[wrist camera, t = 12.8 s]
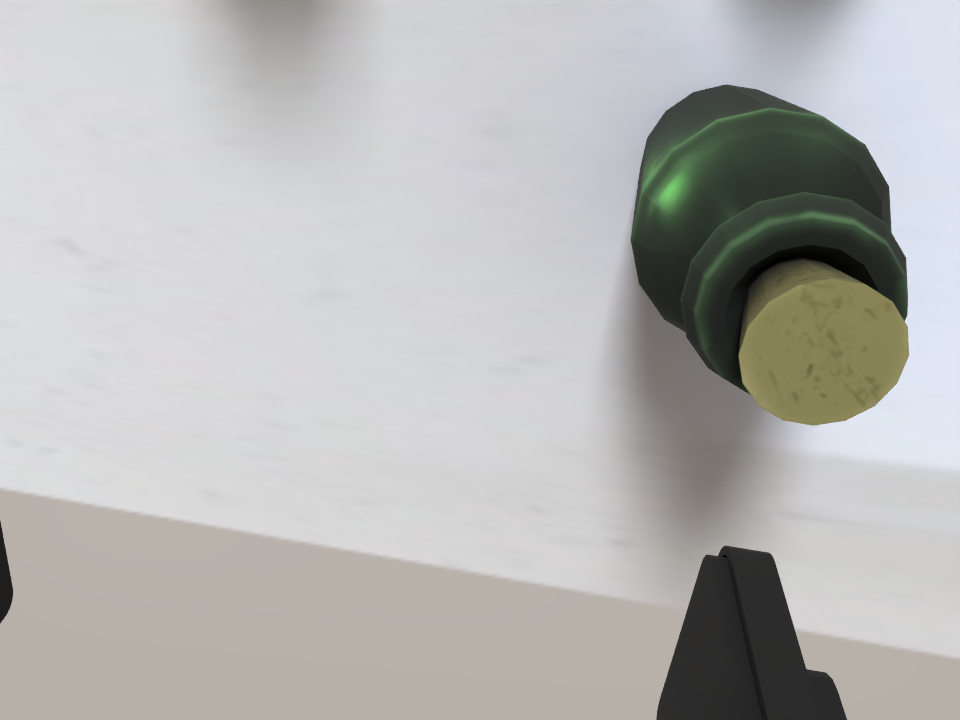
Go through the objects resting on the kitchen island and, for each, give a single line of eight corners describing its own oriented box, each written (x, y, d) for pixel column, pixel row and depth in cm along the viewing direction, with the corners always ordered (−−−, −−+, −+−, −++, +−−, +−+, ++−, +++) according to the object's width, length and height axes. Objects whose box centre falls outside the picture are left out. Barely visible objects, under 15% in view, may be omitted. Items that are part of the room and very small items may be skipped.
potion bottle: (591, 115, 36) (594, 270, 20) (786, 26, 33) (967, 121, 17) (661, 282, 39) (711, 534, 23) (844, 211, 36) (1044, 438, 20)
